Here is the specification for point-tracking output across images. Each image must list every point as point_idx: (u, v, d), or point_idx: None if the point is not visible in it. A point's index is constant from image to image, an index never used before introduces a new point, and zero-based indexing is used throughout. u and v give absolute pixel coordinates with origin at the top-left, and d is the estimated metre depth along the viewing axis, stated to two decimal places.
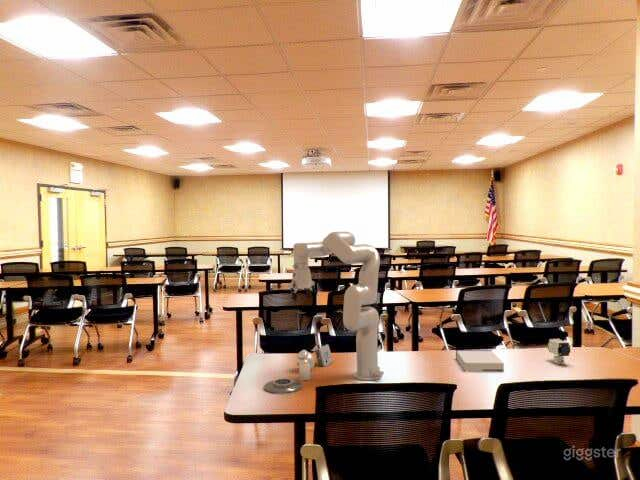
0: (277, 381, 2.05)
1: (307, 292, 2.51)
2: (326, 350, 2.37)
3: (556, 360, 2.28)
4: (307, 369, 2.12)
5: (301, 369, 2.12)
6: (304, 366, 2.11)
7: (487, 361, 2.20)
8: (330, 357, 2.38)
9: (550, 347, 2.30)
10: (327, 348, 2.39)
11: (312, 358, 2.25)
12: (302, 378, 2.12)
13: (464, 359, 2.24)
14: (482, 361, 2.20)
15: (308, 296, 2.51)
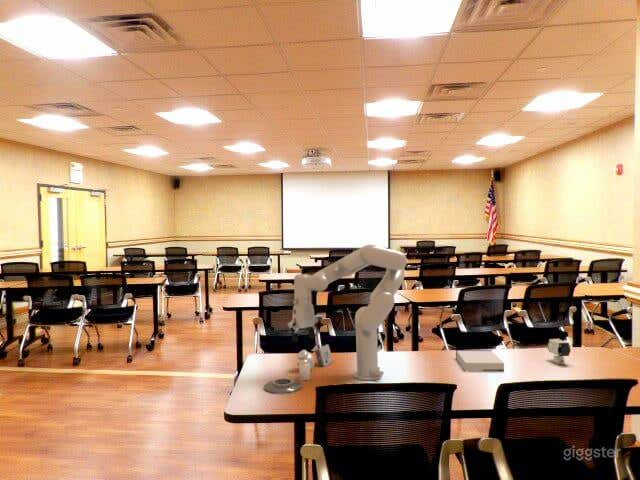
0: (277, 381, 2.05)
1: (309, 331, 2.17)
2: (326, 350, 2.37)
3: (556, 360, 2.28)
4: (307, 369, 2.12)
5: (301, 369, 2.12)
6: (304, 366, 2.11)
7: (488, 361, 2.20)
8: (330, 357, 2.38)
9: (550, 347, 2.30)
10: (327, 348, 2.39)
11: (312, 358, 2.25)
12: (302, 378, 2.12)
13: (464, 359, 2.24)
14: (482, 361, 2.20)
15: (311, 336, 2.16)
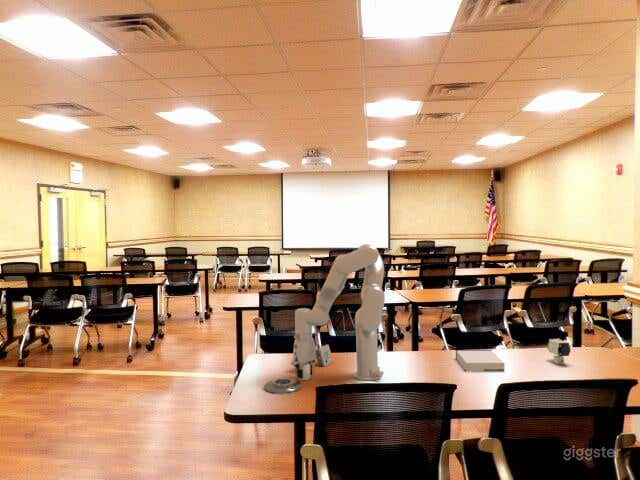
0: (277, 381, 2.05)
1: None
2: (326, 350, 2.37)
3: (556, 360, 2.28)
4: (307, 369, 2.12)
5: None
6: (304, 366, 2.11)
7: (488, 361, 2.20)
8: (330, 357, 2.38)
9: (550, 347, 2.30)
10: (327, 348, 2.39)
11: None
12: (302, 378, 2.12)
13: (465, 359, 2.24)
14: (483, 361, 2.20)
15: None
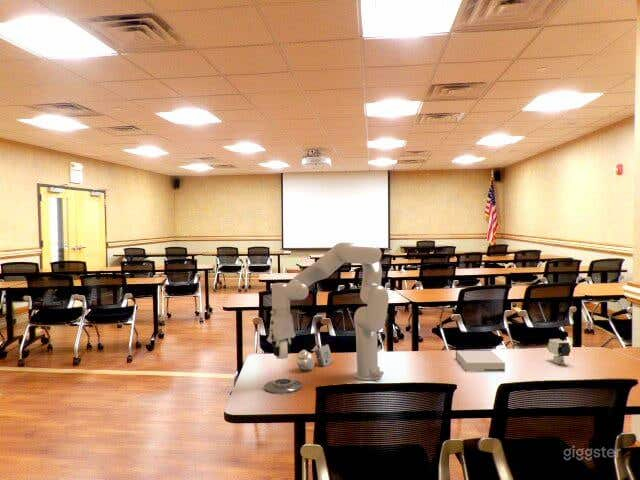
0: (277, 381, 2.05)
1: None
2: (326, 350, 2.37)
3: (556, 360, 2.28)
4: (284, 346, 2.00)
5: (278, 346, 2.01)
6: (281, 343, 2.00)
7: (488, 361, 2.21)
8: (330, 357, 2.38)
9: (550, 347, 2.30)
10: (327, 348, 2.39)
11: (312, 358, 2.25)
12: (279, 356, 2.00)
13: (465, 359, 2.24)
14: (483, 361, 2.20)
15: None
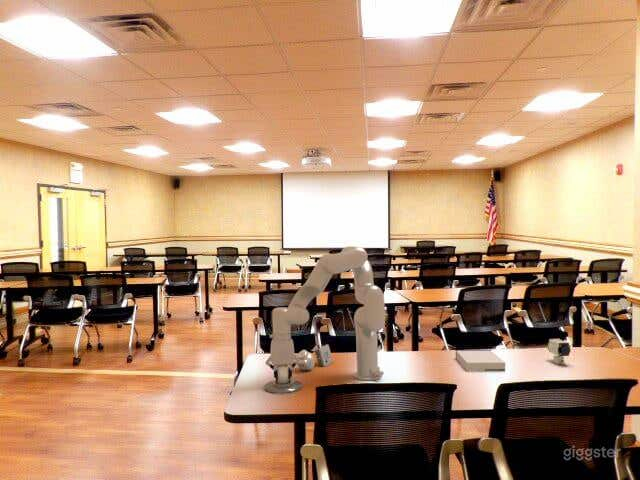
0: None
1: None
2: (326, 350, 2.37)
3: (556, 360, 2.28)
4: (282, 372, 2.00)
5: (277, 371, 2.02)
6: (279, 368, 2.01)
7: (489, 361, 2.21)
8: (330, 357, 2.38)
9: (550, 347, 2.30)
10: (327, 348, 2.39)
11: (312, 358, 2.25)
12: (277, 380, 2.02)
13: (465, 359, 2.24)
14: (484, 361, 2.21)
15: None
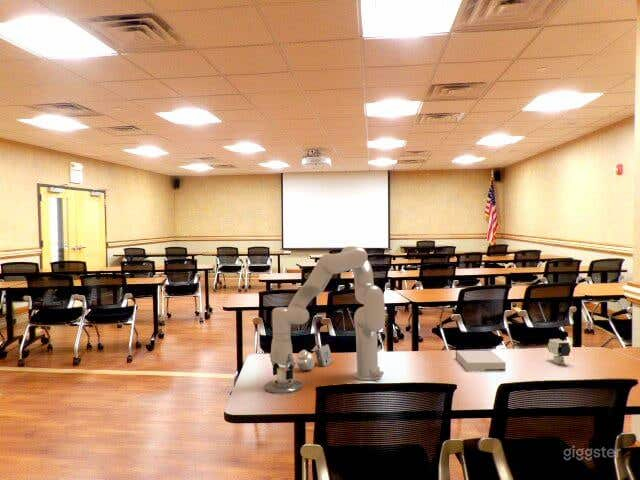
0: None
1: None
2: (326, 350, 2.37)
3: (556, 360, 2.28)
4: (277, 374, 2.02)
5: None
6: (277, 370, 2.03)
7: (489, 360, 2.21)
8: (330, 357, 2.38)
9: (550, 347, 2.30)
10: (327, 348, 2.39)
11: (312, 358, 2.25)
12: None
13: (466, 359, 2.24)
14: (484, 361, 2.21)
15: None
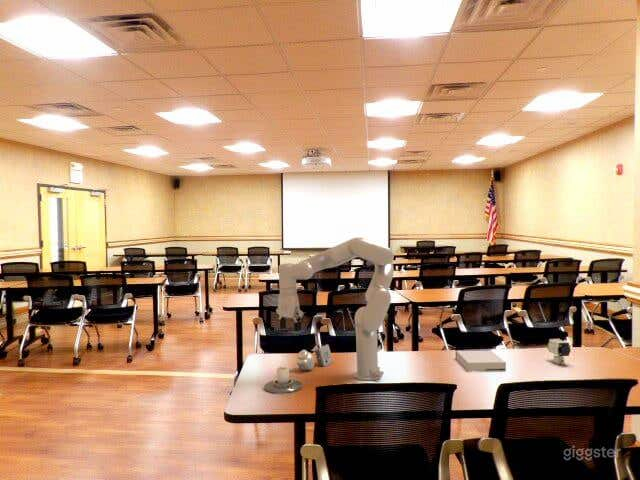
0: None
1: None
2: (326, 350, 2.37)
3: (556, 360, 2.28)
4: (277, 374, 2.02)
5: None
6: (277, 370, 2.03)
7: (489, 360, 2.21)
8: (330, 357, 2.38)
9: (550, 347, 2.30)
10: (327, 348, 2.39)
11: (312, 358, 2.25)
12: None
13: (466, 359, 2.24)
14: (484, 361, 2.21)
15: None
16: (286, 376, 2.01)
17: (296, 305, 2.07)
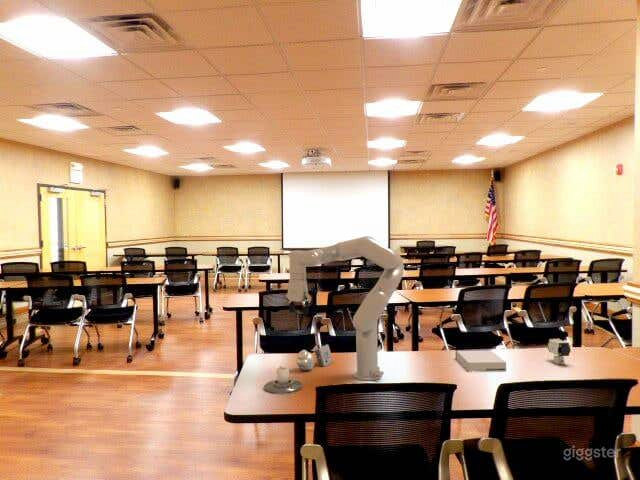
0: None
1: None
2: (326, 350, 2.37)
3: (556, 360, 2.28)
4: (277, 374, 2.02)
5: None
6: (277, 370, 2.03)
7: (490, 360, 2.21)
8: (330, 357, 2.38)
9: (550, 347, 2.30)
10: (327, 348, 2.39)
11: (312, 358, 2.25)
12: None
13: (466, 359, 2.24)
14: (485, 360, 2.21)
15: None
16: (286, 376, 2.01)
17: (305, 290, 2.18)
